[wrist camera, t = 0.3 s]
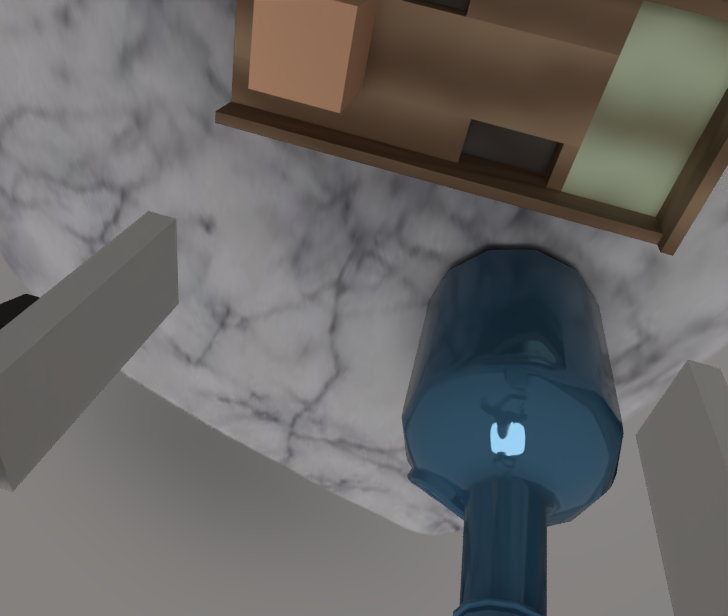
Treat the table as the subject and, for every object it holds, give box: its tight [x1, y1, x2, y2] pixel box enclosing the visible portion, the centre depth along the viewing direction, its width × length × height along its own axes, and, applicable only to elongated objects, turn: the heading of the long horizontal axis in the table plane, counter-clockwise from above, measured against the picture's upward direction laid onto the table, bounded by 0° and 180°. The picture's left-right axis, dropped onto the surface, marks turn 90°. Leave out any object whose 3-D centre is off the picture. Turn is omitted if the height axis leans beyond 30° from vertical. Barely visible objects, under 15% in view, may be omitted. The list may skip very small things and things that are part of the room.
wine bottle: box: [402, 249, 623, 616], centre depth 34 cm, size 14×13×30 cm
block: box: [248, 0, 378, 113], centre depth 33 cm, size 6×6×6 cm
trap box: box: [215, 0, 728, 256], centre depth 34 cm, size 13×30×6 cm, turn 79°
